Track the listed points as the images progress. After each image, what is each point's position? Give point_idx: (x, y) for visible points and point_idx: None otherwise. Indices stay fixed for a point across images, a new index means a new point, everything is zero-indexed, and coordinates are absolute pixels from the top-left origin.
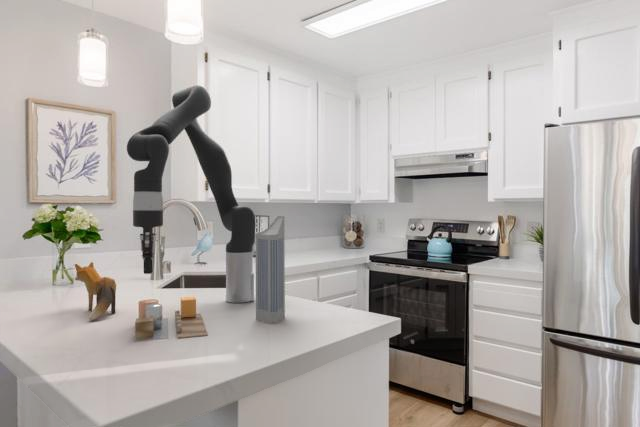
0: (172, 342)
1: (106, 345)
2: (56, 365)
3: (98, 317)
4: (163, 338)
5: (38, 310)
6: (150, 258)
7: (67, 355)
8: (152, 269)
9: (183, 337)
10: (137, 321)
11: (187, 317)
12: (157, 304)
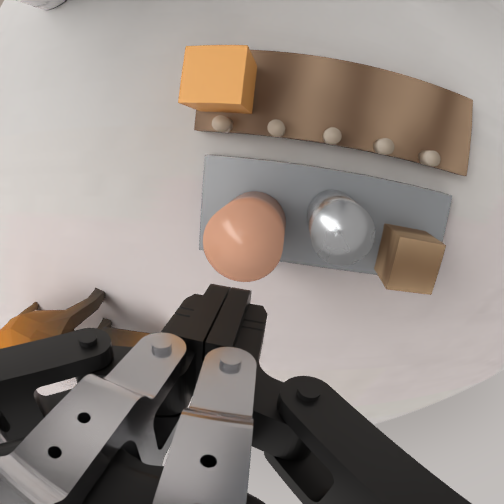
0: (443, 183)
1: (377, 327)
2: (435, 386)
3: None
4: (448, 208)
5: (46, 385)
6: (281, 382)
7: (395, 381)
8: (238, 298)
9: (467, 161)
10: (425, 288)
11: None
12: (331, 218)
